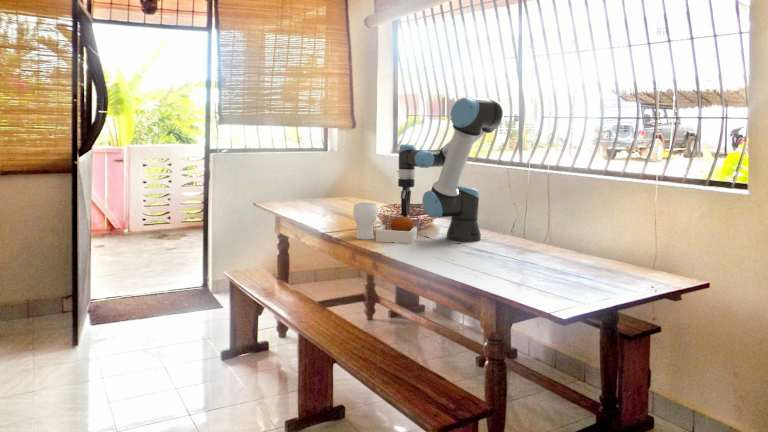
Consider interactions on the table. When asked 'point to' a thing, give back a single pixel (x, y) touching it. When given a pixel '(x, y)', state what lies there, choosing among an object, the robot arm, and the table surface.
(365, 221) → the cup
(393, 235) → the frame
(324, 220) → the table surface
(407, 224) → the fruit
